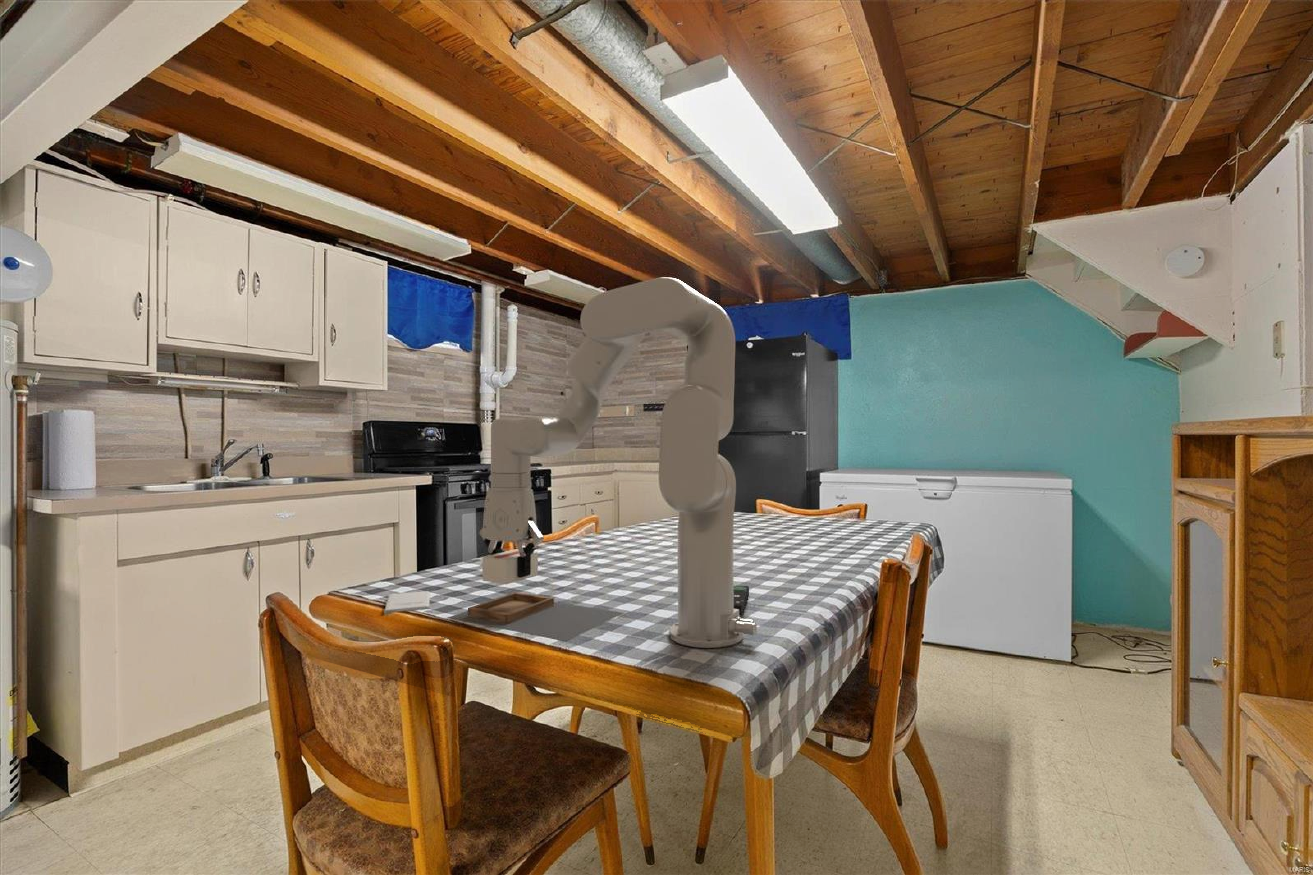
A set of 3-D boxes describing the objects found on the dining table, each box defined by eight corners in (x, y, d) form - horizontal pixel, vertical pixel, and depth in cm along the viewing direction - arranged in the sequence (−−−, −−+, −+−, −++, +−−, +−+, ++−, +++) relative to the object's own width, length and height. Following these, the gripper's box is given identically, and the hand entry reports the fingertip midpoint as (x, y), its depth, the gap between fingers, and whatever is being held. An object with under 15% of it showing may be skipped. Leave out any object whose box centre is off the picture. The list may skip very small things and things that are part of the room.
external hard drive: (429, 598, 132) (429, 613, 121) (388, 602, 129) (384, 617, 118) (429, 590, 132) (429, 605, 121) (388, 594, 129) (384, 609, 118)
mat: (623, 615, 116) (623, 612, 116) (566, 643, 101) (566, 640, 101) (512, 597, 130) (512, 595, 130) (446, 620, 114) (446, 617, 114)
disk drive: (744, 619, 115) (749, 597, 130) (743, 605, 115) (749, 584, 130) (690, 616, 118) (701, 595, 132) (690, 602, 118) (701, 582, 132)
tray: (553, 606, 122) (553, 598, 122) (508, 624, 110) (508, 615, 110) (515, 599, 126) (515, 592, 126) (467, 616, 115) (467, 608, 115)
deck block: (506, 584, 113) (506, 559, 113) (482, 580, 116) (482, 556, 116) (537, 574, 121) (537, 551, 121) (514, 571, 124) (514, 548, 124)
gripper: (464, 481, 119) (464, 573, 119) (532, 485, 111) (532, 583, 111) (491, 478, 126) (491, 565, 126) (558, 482, 117) (558, 575, 117)
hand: (510, 573), depth 118 cm, fingers closed on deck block, 6 cm apart
